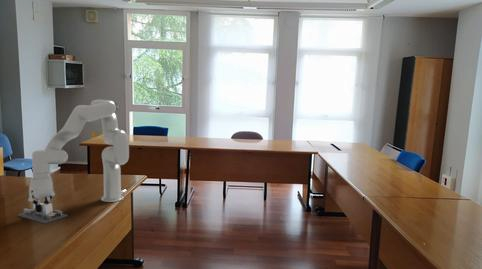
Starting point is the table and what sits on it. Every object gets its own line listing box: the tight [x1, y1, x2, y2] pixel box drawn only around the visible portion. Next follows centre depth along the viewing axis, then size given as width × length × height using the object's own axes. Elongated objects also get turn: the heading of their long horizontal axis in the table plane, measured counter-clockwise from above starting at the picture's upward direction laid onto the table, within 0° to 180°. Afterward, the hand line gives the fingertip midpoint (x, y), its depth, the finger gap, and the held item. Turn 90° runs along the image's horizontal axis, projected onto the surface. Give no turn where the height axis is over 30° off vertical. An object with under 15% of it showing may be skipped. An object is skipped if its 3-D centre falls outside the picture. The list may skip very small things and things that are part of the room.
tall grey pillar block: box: [32, 202, 54, 215], centre depth 174 cm, size 4×10×5 cm, turn 64°
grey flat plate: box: [17, 212, 68, 224], centre depth 174 cm, size 12×21×1 cm, turn 64°
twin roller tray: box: [23, 207, 63, 220], centre depth 174 cm, size 7×20×2 cm, turn 64°
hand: (42, 210), depth 174 cm, fingers closed on tall grey pillar block, 3 cm apart
